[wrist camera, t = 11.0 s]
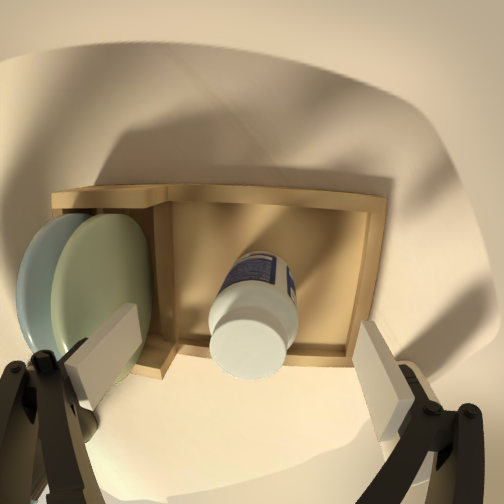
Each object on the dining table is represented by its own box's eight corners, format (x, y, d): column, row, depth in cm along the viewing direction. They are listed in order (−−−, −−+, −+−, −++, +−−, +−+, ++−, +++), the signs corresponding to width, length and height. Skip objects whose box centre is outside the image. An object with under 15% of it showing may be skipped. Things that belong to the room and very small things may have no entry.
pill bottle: (215, 288, 24) (178, 357, 15) (252, 236, 23) (230, 284, 13) (269, 322, 24) (260, 403, 15) (308, 275, 23) (322, 343, 14)
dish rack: (109, 328, 28) (80, 359, 22) (93, 185, 24) (51, 193, 18) (351, 354, 26) (364, 396, 20) (379, 195, 22) (408, 205, 16)
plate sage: (147, 329, 26) (83, 414, 15) (137, 202, 23) (33, 236, 11) (159, 331, 26) (97, 419, 15) (149, 202, 23) (48, 237, 11)
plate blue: (118, 324, 26) (48, 399, 15) (104, 202, 23) (-1, 234, 12) (128, 326, 26) (60, 404, 15) (115, 202, 23) (10, 235, 11)
